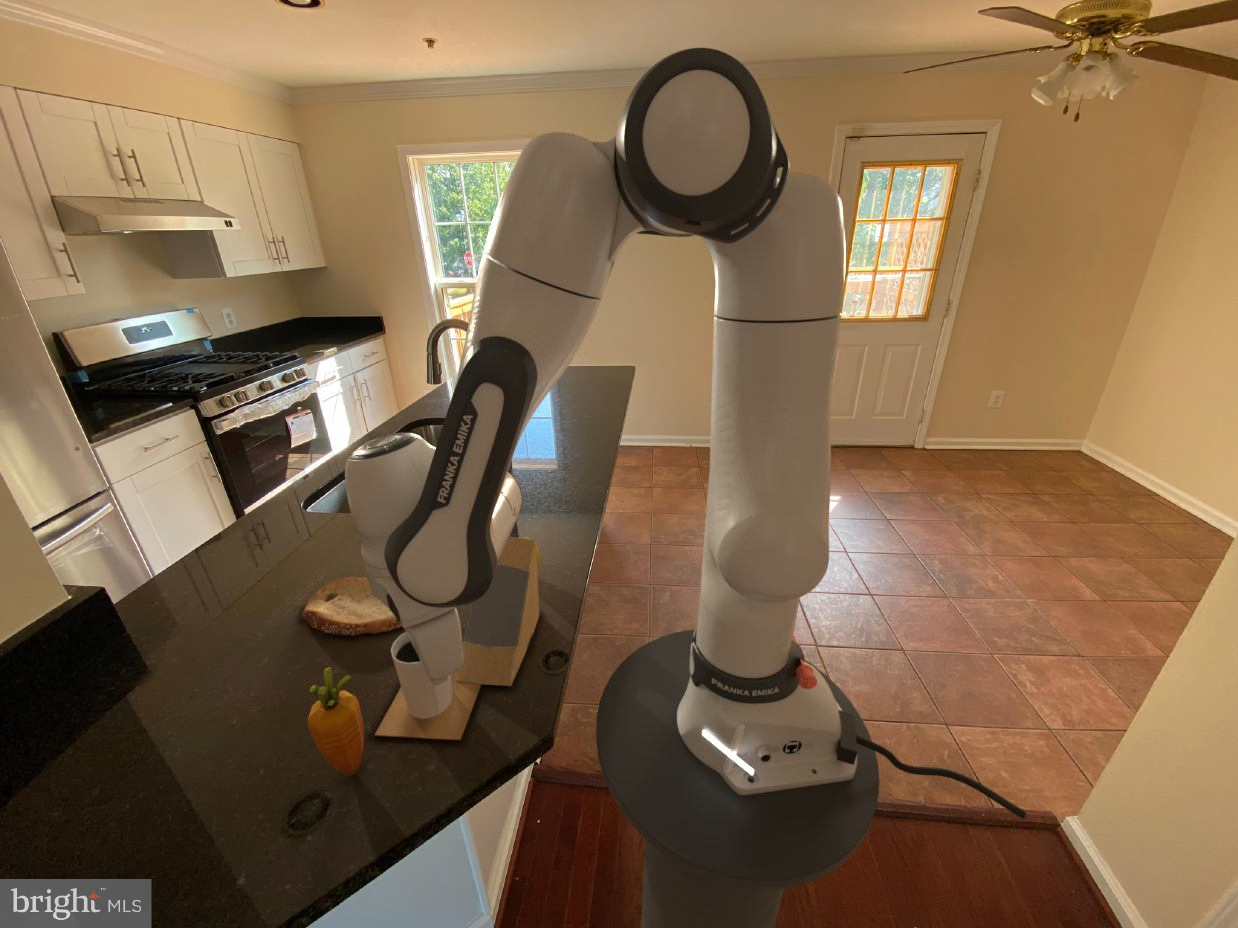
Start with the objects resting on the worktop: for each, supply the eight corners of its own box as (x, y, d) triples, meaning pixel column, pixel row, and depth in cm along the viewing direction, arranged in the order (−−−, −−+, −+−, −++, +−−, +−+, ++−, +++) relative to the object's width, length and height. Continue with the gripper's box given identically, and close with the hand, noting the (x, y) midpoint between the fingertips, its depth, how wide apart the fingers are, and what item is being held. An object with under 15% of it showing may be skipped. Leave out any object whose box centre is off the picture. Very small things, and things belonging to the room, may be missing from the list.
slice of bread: (447, 605, 85) (444, 587, 84) (337, 665, 73) (331, 645, 72) (398, 563, 96) (395, 547, 95) (295, 609, 84) (289, 591, 83)
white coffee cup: (396, 698, 68) (382, 641, 64) (443, 673, 72) (433, 618, 68) (415, 731, 63) (402, 672, 59) (464, 702, 67) (455, 645, 63)
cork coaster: (486, 671, 72) (486, 670, 72) (460, 740, 62) (460, 739, 62) (412, 668, 73) (412, 667, 73) (374, 735, 63) (374, 734, 63)
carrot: (345, 751, 61) (316, 658, 55) (384, 755, 60) (359, 662, 54) (319, 792, 56) (283, 695, 50) (360, 796, 56) (330, 700, 50)
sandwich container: (452, 681, 70) (438, 594, 64) (491, 610, 84) (482, 533, 78) (511, 687, 69) (502, 600, 64) (540, 614, 83) (535, 537, 78)
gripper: (359, 538, 64) (379, 622, 70) (405, 626, 50) (427, 724, 55) (409, 523, 68) (425, 604, 74) (466, 601, 53) (481, 695, 59)
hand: (426, 656), depth 64 cm, fingers open, 8 cm apart
